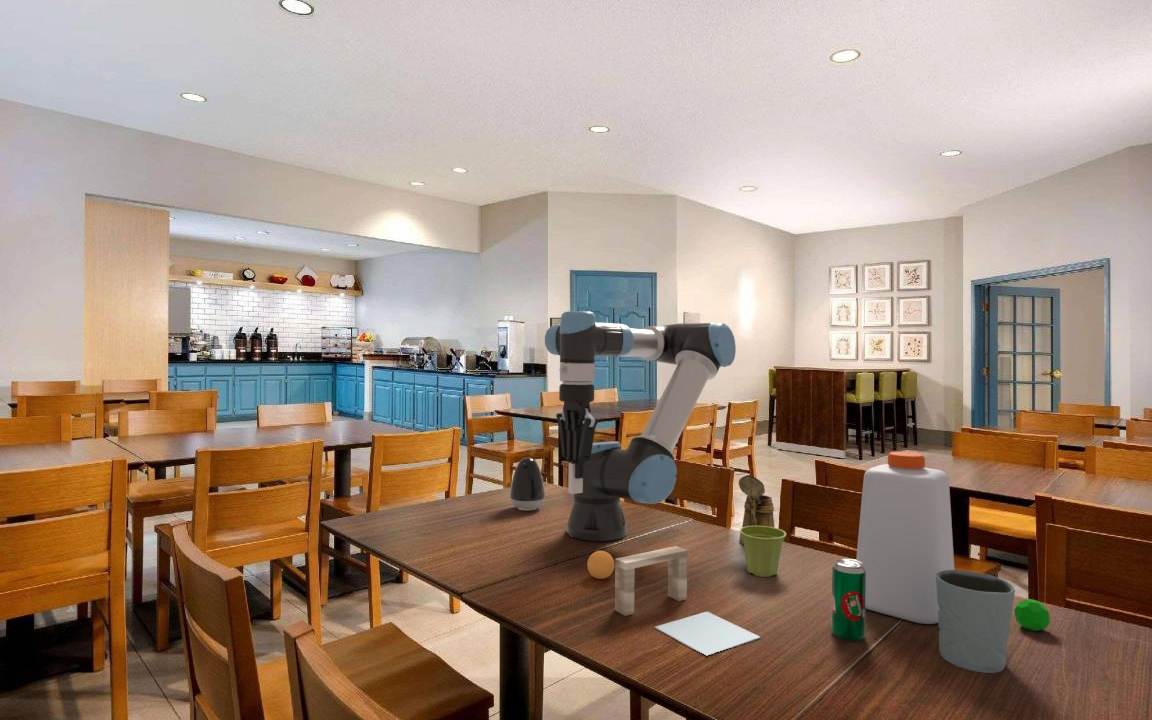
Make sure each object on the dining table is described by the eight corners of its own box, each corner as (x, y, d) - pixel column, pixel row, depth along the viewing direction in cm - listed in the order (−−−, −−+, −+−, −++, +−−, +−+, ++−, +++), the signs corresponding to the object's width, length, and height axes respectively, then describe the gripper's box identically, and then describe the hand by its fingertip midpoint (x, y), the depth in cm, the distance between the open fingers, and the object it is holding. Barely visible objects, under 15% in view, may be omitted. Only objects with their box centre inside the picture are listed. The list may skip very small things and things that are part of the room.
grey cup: (919, 650, 100) (921, 573, 100) (963, 639, 104) (965, 565, 104) (983, 681, 91) (985, 596, 90) (1029, 668, 95) (1030, 587, 94)
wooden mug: (728, 549, 151) (729, 472, 151) (745, 535, 162) (746, 464, 162) (766, 555, 146) (767, 477, 146) (781, 541, 158) (782, 468, 157)
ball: (582, 576, 131) (582, 549, 131) (603, 571, 134) (604, 545, 134) (597, 584, 126) (597, 557, 126) (619, 579, 129) (620, 552, 129)
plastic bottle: (962, 606, 117) (964, 454, 117) (937, 631, 107) (939, 463, 106) (876, 585, 128) (878, 445, 128) (845, 605, 117) (847, 453, 117)
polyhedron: (1034, 636, 105) (1034, 608, 105) (1006, 624, 110) (1007, 596, 110) (1057, 633, 106) (1057, 605, 106) (1029, 621, 111) (1029, 594, 111)
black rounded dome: (505, 512, 183) (505, 459, 183) (514, 504, 193) (515, 454, 193) (540, 514, 181) (540, 460, 181) (548, 506, 191) (548, 455, 191)
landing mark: (654, 627, 107) (654, 626, 107) (706, 612, 114) (706, 611, 114) (706, 656, 97) (706, 655, 97) (760, 638, 103) (760, 636, 103)
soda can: (836, 626, 108) (838, 555, 108) (868, 634, 105) (869, 562, 105) (827, 636, 104) (828, 563, 104) (859, 645, 101) (860, 570, 101)
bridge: (614, 610, 114) (615, 558, 114) (675, 593, 122) (676, 545, 122) (625, 615, 112) (625, 563, 112) (686, 599, 120) (687, 550, 120)
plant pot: (788, 582, 129) (788, 539, 129) (740, 578, 131) (740, 536, 131) (782, 567, 138) (783, 527, 138) (737, 563, 140) (738, 524, 140)
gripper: (546, 382, 141) (545, 489, 141) (579, 384, 130) (577, 500, 130) (574, 381, 145) (573, 485, 145) (608, 384, 134) (607, 496, 135)
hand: (575, 492), depth 138 cm, fingers closed
